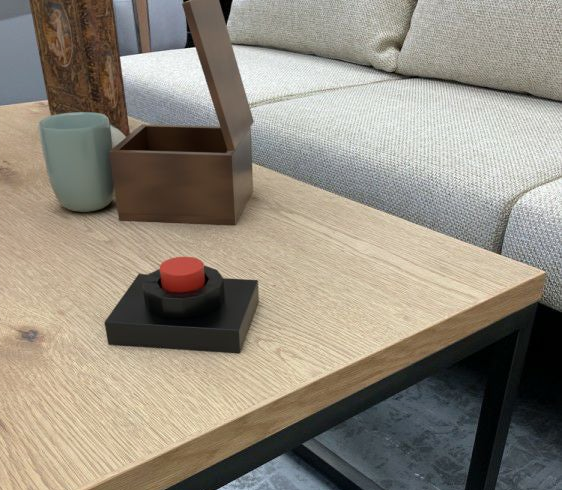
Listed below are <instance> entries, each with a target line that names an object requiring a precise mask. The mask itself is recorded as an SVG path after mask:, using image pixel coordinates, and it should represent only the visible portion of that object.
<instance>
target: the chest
mask: <svg viewBox="0 0 562 490" xmlns="http://www.w3.org/2000/svg"><path fill="white" fill-rule="evenodd" d="M109 156H110V163H111V170H112V176H113V183H114V190H115V195H114V197H115V202H116V203H115V204H116V210H117V216H118V220H119V221H129V222H130V221H131V222H133V221H134V222H155V223H177V224H202V225H223V226H225V225H226V226H236V225H237V222H238V221H239V219H240V217H241V215H242V213H243V211H244V209H245V207H246V205H247V203H248V201H249V199H250V197H251V196H252V194H253V192H254V177H253V176H254V173H253V172H254V171H253V147H252V126H251V127H250V128H249V130H248V131H247V133H246V134H245V136H244V137H243V139H242V140H241V142H240V143H239V145H238V146H237V148H236V149H235V150H233V151H229V152H228V150H227V147H226V143H225V140H224V137H223V134H222V131H221V127H220V125H189V124H188V125H185V124H147V123H146V124H145V123H144V124H142V123H141V124H140V125H139V126H138V127H136V128H135V129H134V130H133V131H131V132H130V134H129V135H128V136H127V137H126V138H125V139H123V140H122V141H121V142H120V143H119V144H118V145H116V146H115V147H114V148H113V149H112V150H110V151H109Z"/></svg>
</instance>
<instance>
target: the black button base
mask: <svg viewBox="0 0 562 490" xmlns="http://www.w3.org/2000/svg"><path fill="white" fill-rule="evenodd" d="M204 274H205V285H204V286H203V287H201V288H199V289H197V290H193V291H188V292H170V291H167V290H164V289H163V288H162V285H161V276H160V268H159V269H156V270H154V271H152V272H150V273H138V274H137V276H136V277H135V278H134V280H133V281H132V283H131V284H130V286H129V287H128V288H127V290H126V291H125V293H124V294H123V295H122V297H121V298H120V300H119V301H118V302H117V304H116V305H115V307H114V308H113V309H112V310H111V312H110V313H109V315H108V316H107V318H105V320H104V328H105V329H104V330H105V334H106V339H107V345H108V346H116V347H117V346H118V347H119V346H120V347H134V348H147V349H148V348H149V349H162V350H163V349H165V350H178V351H194V352H195V351H196V352H211V353H225V354H227V353H228V354H241V353H242V349H243V346H244V343H245V341H246V338H247V335H248V334H249V333H248V332H249V330H250V327H251V325H252V322H253V318H254V316H255V313H256V310H257V308H258V306H259V302H260V294H259V293H260V291H259V279H249V278H247V279H245V278H227V277H223V275H222V274H221V273H220V271H219V270H218V269H216V268H214V267H210V266H207V265H204Z"/></svg>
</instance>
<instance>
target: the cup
mask: <svg viewBox="0 0 562 490" xmlns="http://www.w3.org/2000/svg"><path fill="white" fill-rule="evenodd" d="M37 127H38V135H39V139H40V144H41V150H42V154H43V158H44V159H43V160H44V164H45V168H46V173H47V176H48V180H49V183H50V186H51V188H52V191H53V194H54V195H55V198H56V199H57V201H58V203H59V204H60V205H61V206H62V207H64V208H65V209H67V210H69V211H72V212H77V213H89V212H90V213H91V212H96V211H100V210H102V209H104V208H106V207H107V206H109V205H110V204H111V203H112V201H113V199H114V197H115V190H114V183H113V176H112V170H111V163H110V156H109V151H110V150H112V149H113V141H112V134H111V127H110V122H109V119H108V117H107V116H106V115H104V114H100V113H90V112H75V113H64V114H57V115H53V116H51V115H49V116H47V117H45V118H42V119H41V120H40V121H39V122H38V125H37Z"/></svg>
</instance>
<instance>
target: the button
mask: <svg viewBox="0 0 562 490" xmlns="http://www.w3.org/2000/svg"><path fill="white" fill-rule="evenodd" d="M204 266H205V265H204V262H203V260H201V259H199V258H197V257H193V256H176V257H171V258H168V259H166V260H164V261H163V262H161V263H160V264H159V269H160V276H161V285H162V288H163V289H164V290H167V291H170V292H188V291H193V290H197V289H199V288H201V287H203V286H204V285H205V274H204Z"/></svg>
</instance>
